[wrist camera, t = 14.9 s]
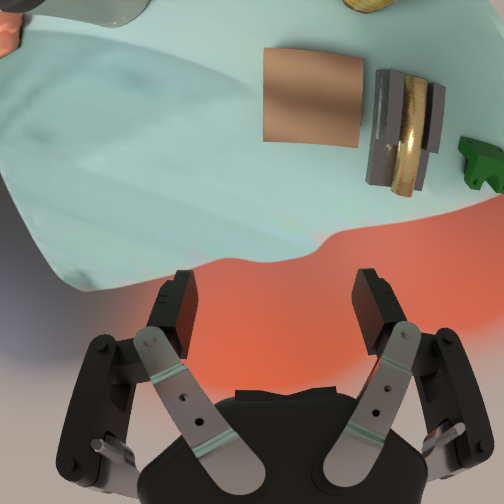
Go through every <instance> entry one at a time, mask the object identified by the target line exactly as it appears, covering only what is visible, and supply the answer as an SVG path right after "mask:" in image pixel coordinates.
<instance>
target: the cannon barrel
mask: <svg viewBox="0 0 504 504" xmlns="http://www.w3.org/2000/svg"><path fill="white" fill-rule="evenodd" d="M427 91H428V81H427V80H425V79H422V78H418V77H414V76H408V75H404V92H403V106H402V117H401V126H400V134H399V142H398V149H397V156H396V163H395V169H394V174H393V180H392V185H391V191H392V192H393V193H395V194H397V195H400V196H404V197H411V196H412V194H413V189H414V185H415V180H416V175H417V170H418V164H419V159H420V153H421V146H422V140H423V132H424V124H425V115H426V105H427Z"/></svg>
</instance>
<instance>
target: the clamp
mask: <svg viewBox="0 0 504 504" xmlns="http://www.w3.org/2000/svg"><path fill="white" fill-rule="evenodd" d="M459 151H460V152H461V153H462V154H463V155H464V156H465V157H466V158H467V159H468V162H467V165H466V168H465V171H464V174H465V177H464V181H465V183H466V184H467V185H468V186H469V188H470V189H474V190H480V188H481V186H482V184H483V182H484V181H485V180H486V181H487V183H488V184H489V185H490V186H491V187H492V188H493V190H494V191H495V192H496V193H502V194H503V193H504V151H503V150H501V149H500V148H498V147H496V146H493V145H490V144H486V143H483V142H479V141H476V140H472V139H468V138H464V137H462V139H461V143H460V146H459Z"/></svg>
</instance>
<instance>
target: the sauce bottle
mask: <svg viewBox="0 0 504 504" xmlns="http://www.w3.org/2000/svg"><path fill="white" fill-rule="evenodd" d="M342 1H343V2H344V4H345V5H346V6H347V7H349V8H351V9H353V10H355V11H358V12H361V13H369V12H374V11H377V10H379V9H381V8H383V7H385V6H387V5H389V4H391V3H393V2H396V1H398V0H342Z"/></svg>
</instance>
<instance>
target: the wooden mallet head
mask: <svg viewBox="0 0 504 504" xmlns="http://www.w3.org/2000/svg"><path fill="white" fill-rule="evenodd" d="M363 73H364V59H362V58H357V57H352V56H346V55H340V54H334V53H327V52H319V51H310V50H299V49H284V48H264V84H263V142H290V143H308V144H321V145H333V146H343V147H352V148H358V143H359V133H360V122H361V110H362V95H363Z"/></svg>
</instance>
